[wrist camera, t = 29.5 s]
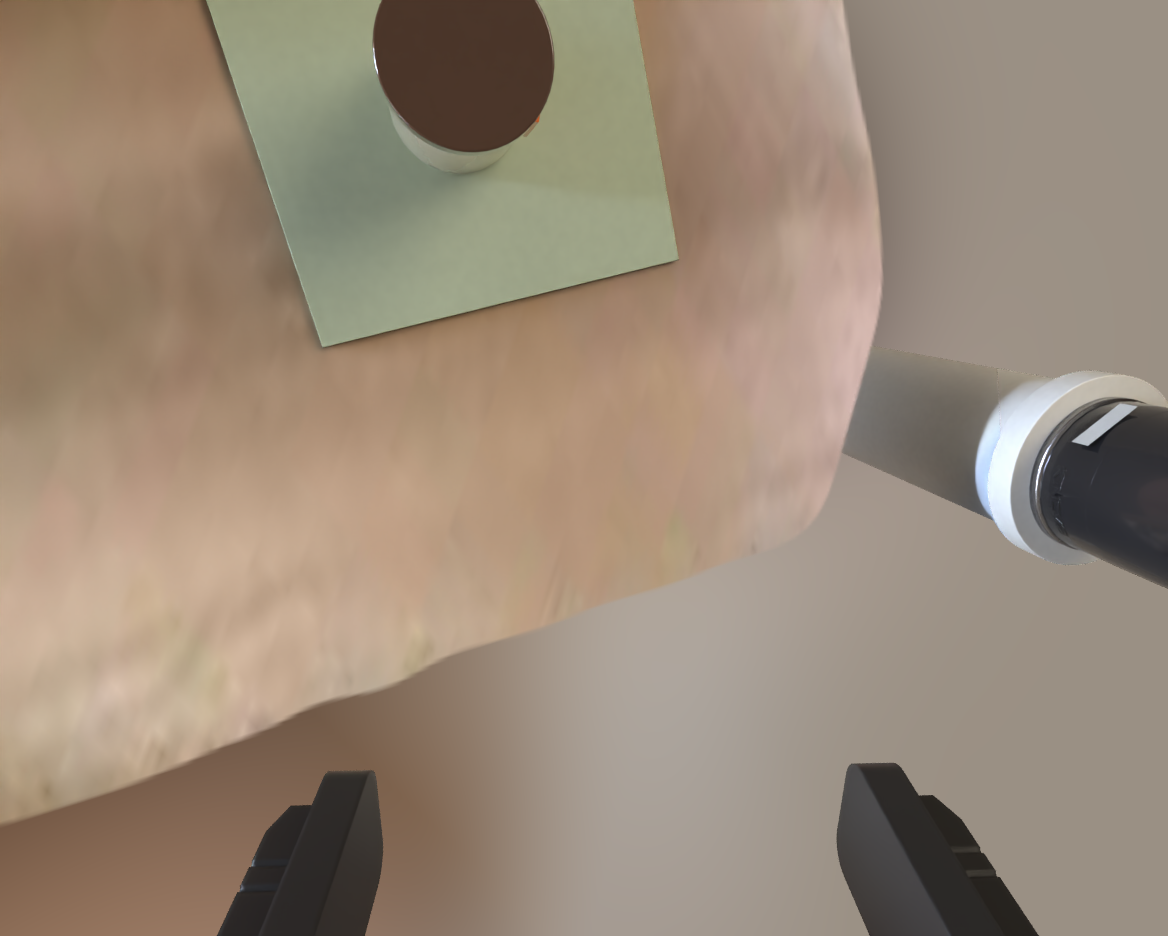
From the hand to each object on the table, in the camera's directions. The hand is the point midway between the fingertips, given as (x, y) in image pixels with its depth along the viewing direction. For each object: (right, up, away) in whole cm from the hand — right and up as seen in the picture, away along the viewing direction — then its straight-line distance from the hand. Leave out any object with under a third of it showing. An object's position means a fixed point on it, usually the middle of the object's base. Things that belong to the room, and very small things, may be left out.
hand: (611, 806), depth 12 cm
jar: (-6, +22, +21) cm, 31 cm away
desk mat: (-6, +22, +21) cm, 31 cm away
